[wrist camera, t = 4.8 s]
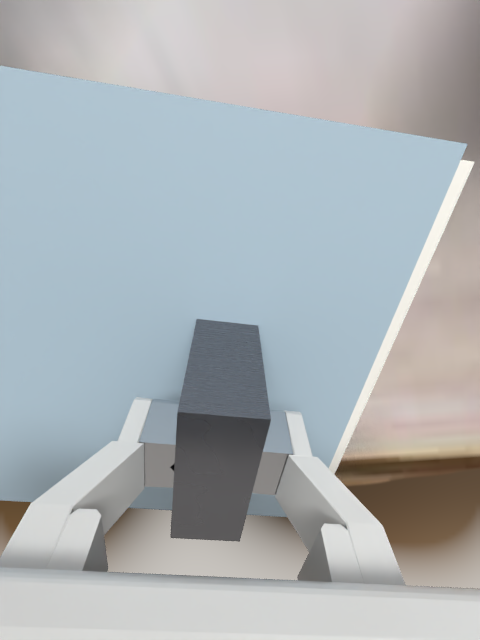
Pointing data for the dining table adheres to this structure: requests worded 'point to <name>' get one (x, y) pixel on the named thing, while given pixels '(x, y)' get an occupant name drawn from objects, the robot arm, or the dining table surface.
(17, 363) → the lid
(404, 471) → the dining table surface
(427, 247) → the carton
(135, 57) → the dining table surface
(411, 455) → the dining table surface
